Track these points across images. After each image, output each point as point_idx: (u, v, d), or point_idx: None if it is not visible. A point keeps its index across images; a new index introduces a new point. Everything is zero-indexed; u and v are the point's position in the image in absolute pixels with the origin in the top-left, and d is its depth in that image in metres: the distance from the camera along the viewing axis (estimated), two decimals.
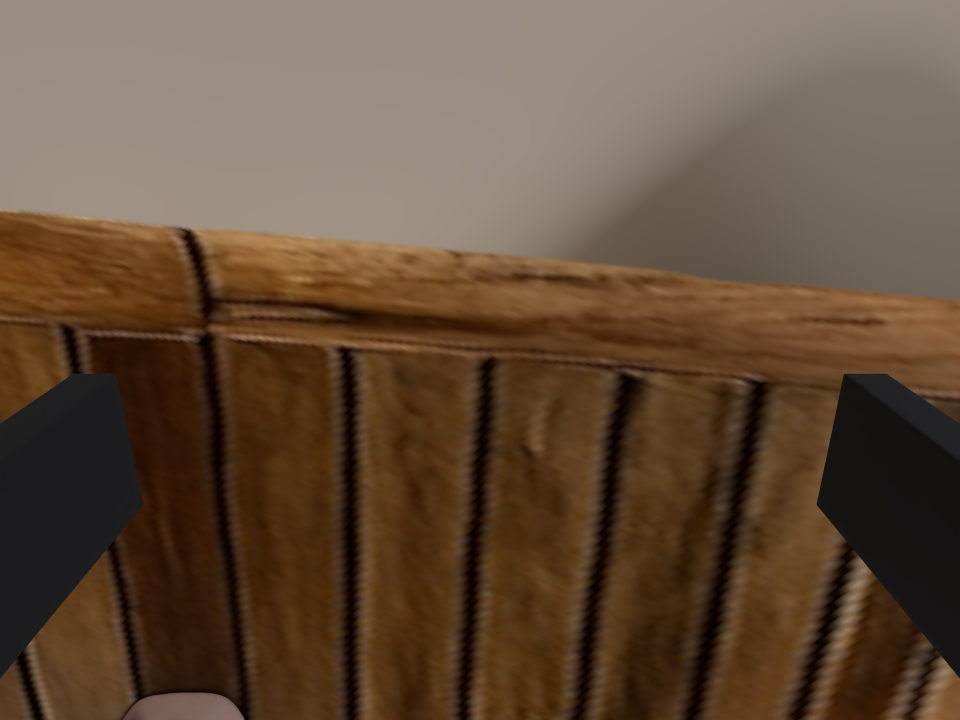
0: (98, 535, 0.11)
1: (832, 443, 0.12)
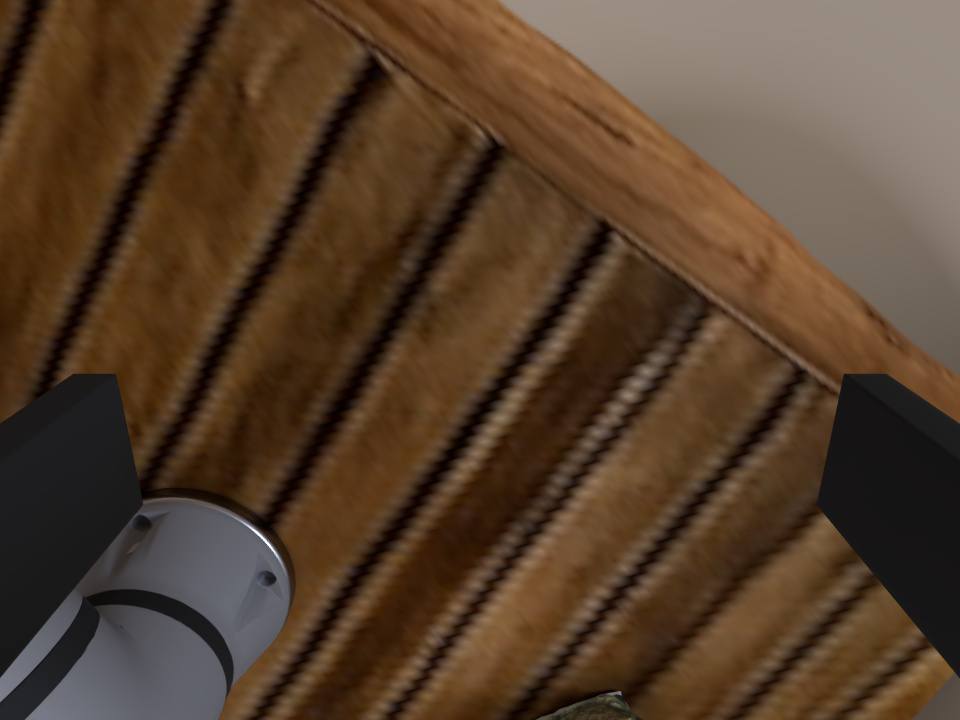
0: (98, 535, 0.11)
1: (832, 443, 0.12)
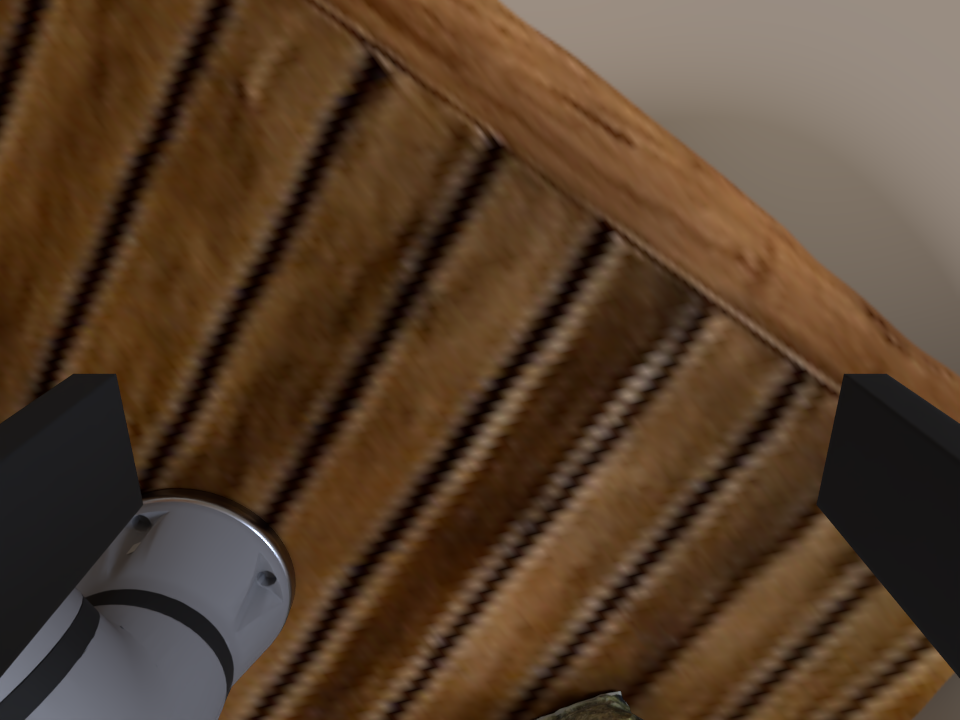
0: (98, 535, 0.11)
1: (832, 443, 0.12)
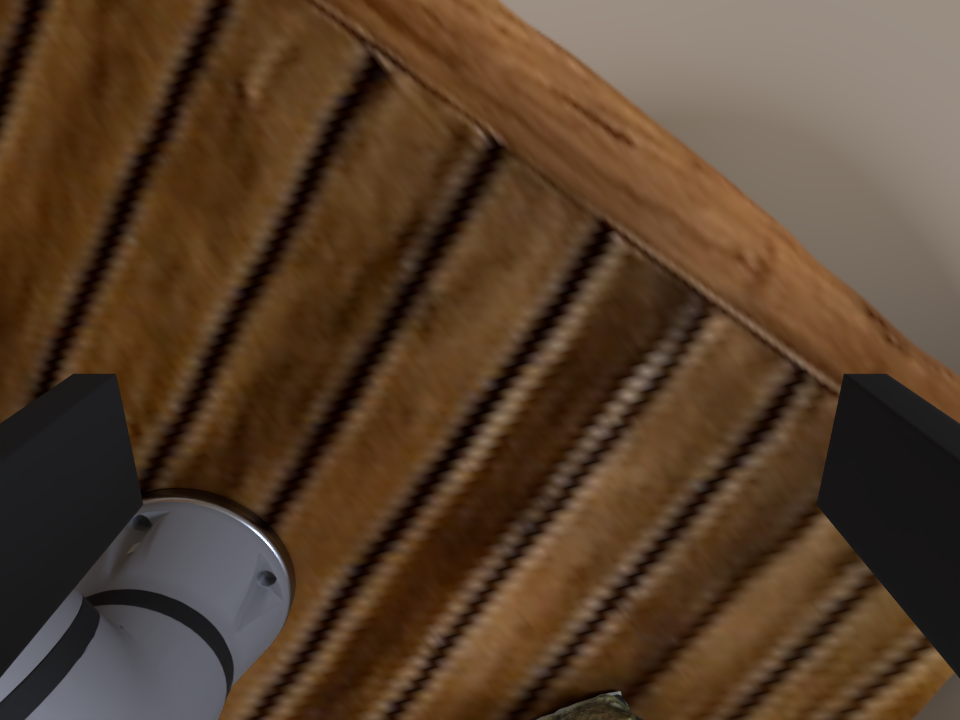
0: (98, 535, 0.11)
1: (832, 443, 0.12)
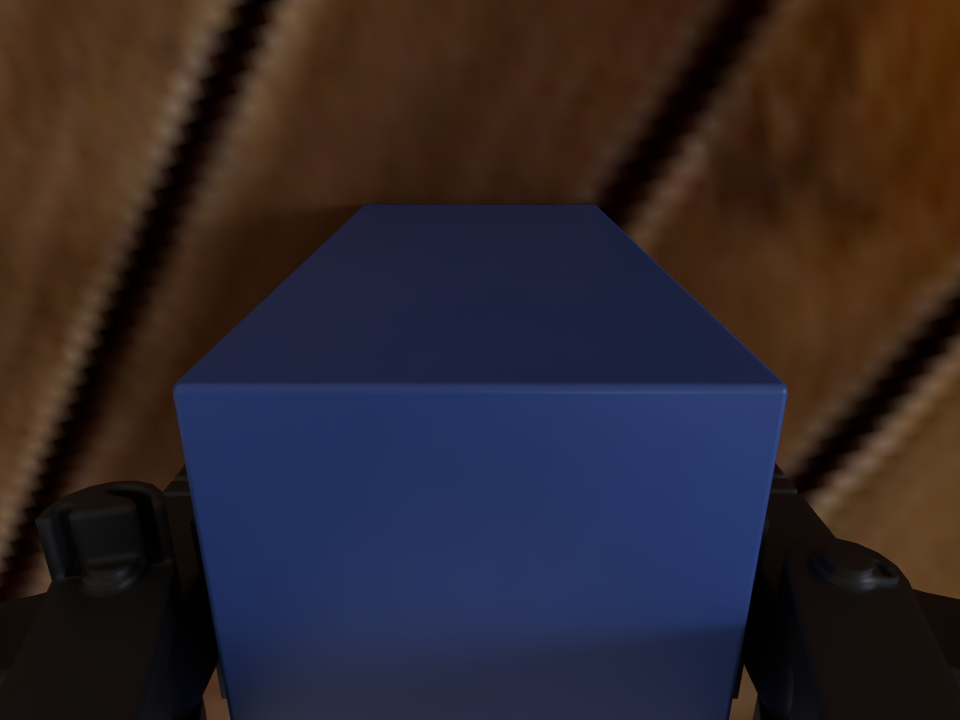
0: None
1: None
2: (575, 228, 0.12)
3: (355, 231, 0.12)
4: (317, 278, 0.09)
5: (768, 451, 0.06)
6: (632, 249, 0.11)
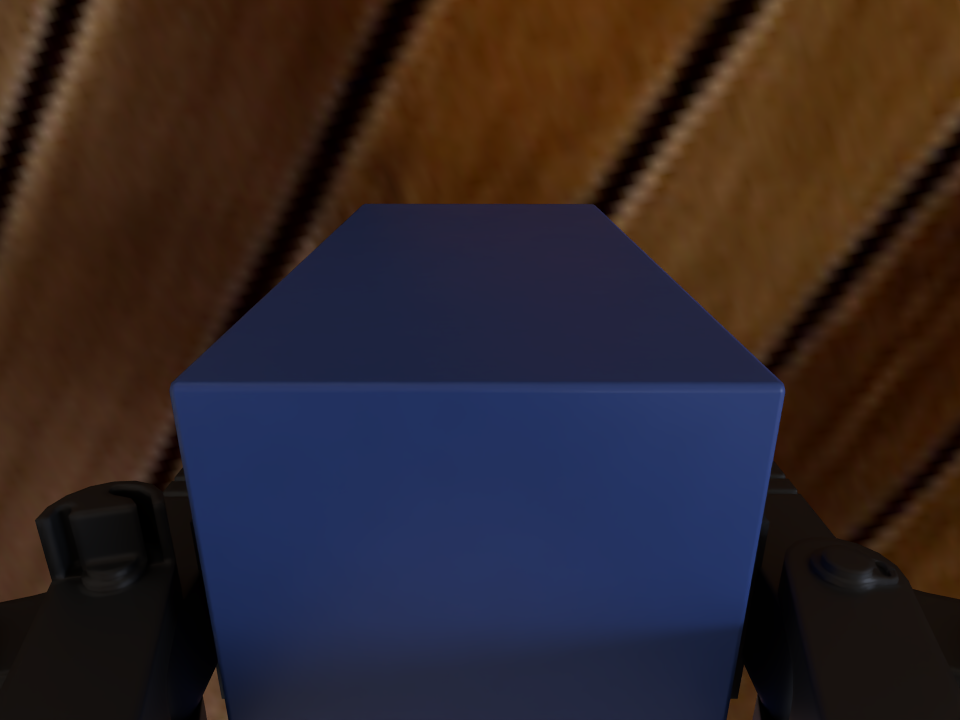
0: None
1: None
2: (574, 228, 0.12)
3: (354, 231, 0.12)
4: (315, 277, 0.09)
5: (765, 450, 0.06)
6: (631, 248, 0.11)
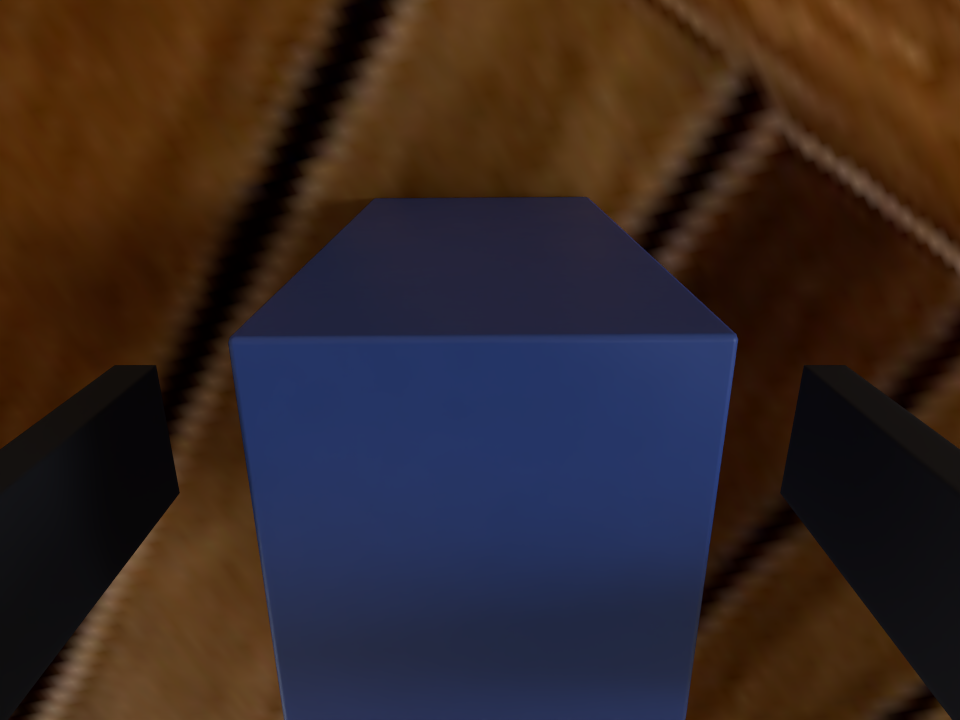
0: (141, 520, 0.12)
1: (794, 432, 0.13)
2: (568, 217, 0.14)
3: (368, 221, 0.13)
4: (338, 259, 0.10)
5: (723, 391, 0.07)
6: (618, 234, 0.12)
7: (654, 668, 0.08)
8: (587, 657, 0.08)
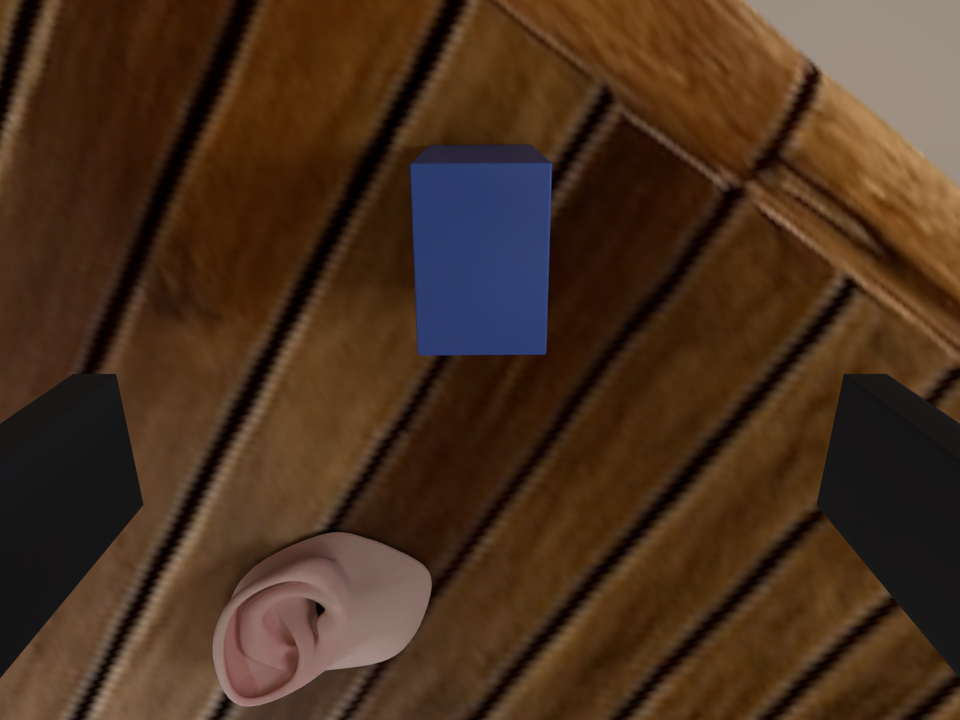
0: (98, 535, 0.11)
1: (832, 443, 0.12)
2: (518, 148, 0.31)
3: (432, 149, 0.31)
4: (428, 155, 0.28)
5: (549, 180, 0.25)
6: (535, 151, 0.30)
7: (535, 279, 0.26)
8: (514, 274, 0.26)
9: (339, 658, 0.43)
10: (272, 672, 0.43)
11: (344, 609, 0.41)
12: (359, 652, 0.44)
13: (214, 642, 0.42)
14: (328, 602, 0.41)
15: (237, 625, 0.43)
